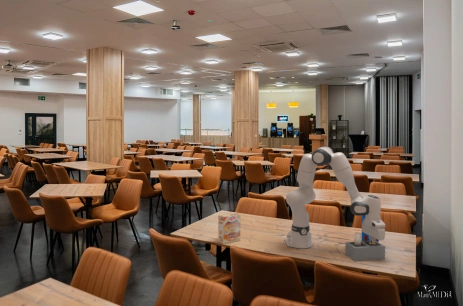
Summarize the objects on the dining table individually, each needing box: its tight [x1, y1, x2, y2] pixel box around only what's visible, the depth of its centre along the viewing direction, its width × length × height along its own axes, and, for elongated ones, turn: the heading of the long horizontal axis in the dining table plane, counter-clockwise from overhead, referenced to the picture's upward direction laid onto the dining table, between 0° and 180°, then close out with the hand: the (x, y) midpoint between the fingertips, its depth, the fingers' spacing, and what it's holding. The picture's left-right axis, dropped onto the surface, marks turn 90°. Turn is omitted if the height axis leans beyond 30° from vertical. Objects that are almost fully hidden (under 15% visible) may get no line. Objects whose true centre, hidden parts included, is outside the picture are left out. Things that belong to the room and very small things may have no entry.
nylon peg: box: [353, 232, 362, 245], centre depth 230 cm, size 4×4×8 cm
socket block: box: [344, 241, 386, 262], centre depth 232 cm, size 20×12×8 cm, turn 101°
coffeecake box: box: [217, 212, 242, 245], centre depth 263 cm, size 15×7×20 cm, turn 126°
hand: (372, 243), depth 232 cm, fingers closed, pressing on brass peg
